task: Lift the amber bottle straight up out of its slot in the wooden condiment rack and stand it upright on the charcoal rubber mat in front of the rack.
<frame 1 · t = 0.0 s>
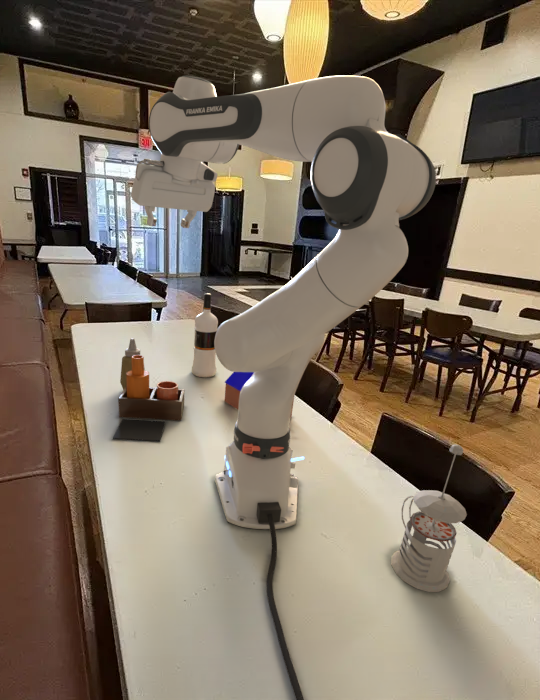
hand: (168, 226, 99), 52 cm above the table, tool tilted 20°, fingers open, 8 cm apart
squeeze bottle: (133, 392, 135), on the table
house: (256, 409, 130), on the table
french press: (416, 565, 74), on the table
bottle: (138, 411, 122), resting in wooden condiment rack
wooden condiment rack: (152, 412, 122), on the table
vodka: (203, 374, 156), on the table
rack cup: (167, 412, 122), resting in wooden condiment rack
mat: (140, 430, 111), on the table
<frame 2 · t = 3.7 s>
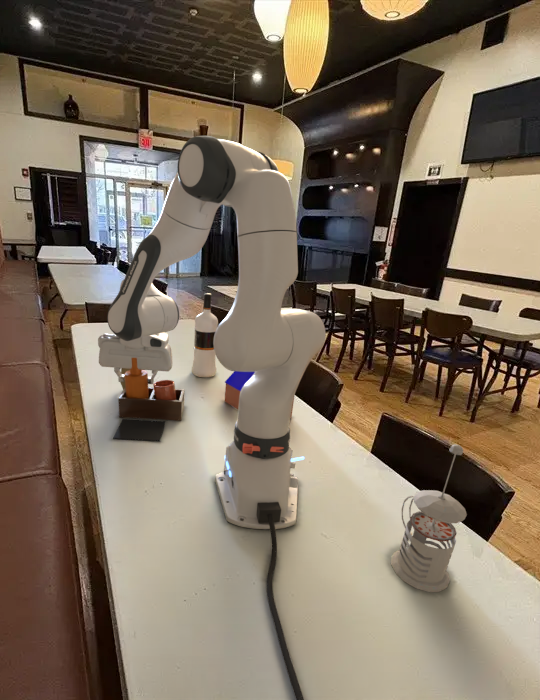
hand: (136, 382, 119), 9 cm above the table, tool pointing down, fingers open, 7 cm apart
rack cup: (167, 411, 122), resting in wooden condiment rack, tilted 7°, touching gripper
everything else where it was.
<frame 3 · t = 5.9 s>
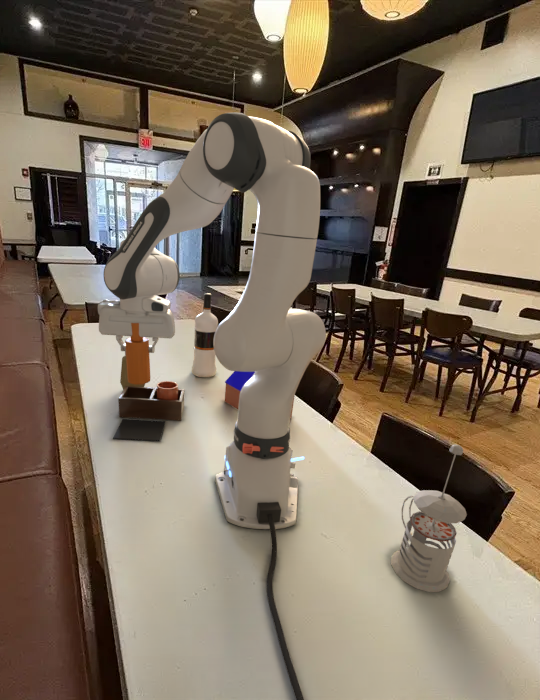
hand: (138, 351, 115), 19 cm above the table, tool pointing down, fingers closed on bottle, 6 cm apart
bottle: (139, 380, 118), point 10 cm above the table, touching gripper
rack cup: (167, 412, 122), resting in wooden condiment rack
everything else where it was.
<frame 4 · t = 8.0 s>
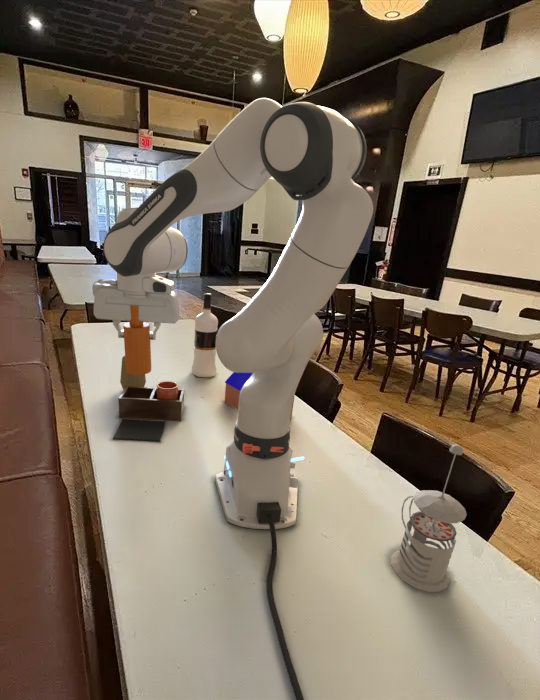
hand: (137, 338, 103), 25 cm above the table, tool pointing down, fingers closed on bottle, 6 cm apart
bottle: (138, 370, 106), point 17 cm above the table, touching gripper
everything else where it was.
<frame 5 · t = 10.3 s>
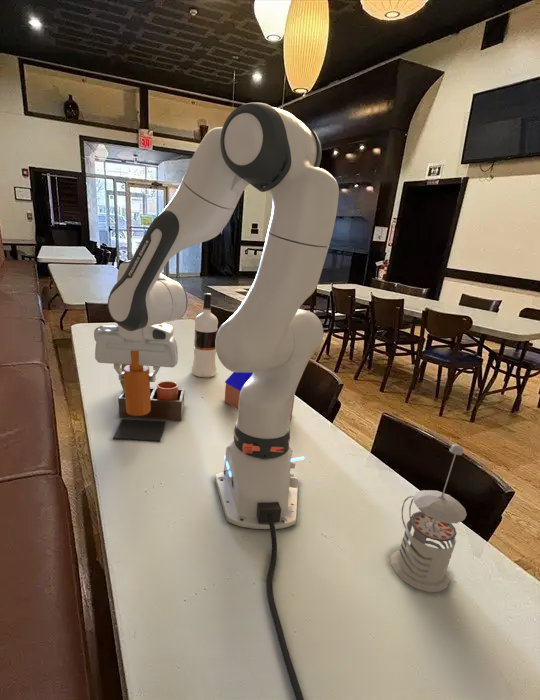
hand: (137, 380, 106), 14 cm above the table, tool pointing down, fingers closed on bottle, 6 cm apart
bottle: (138, 410, 109), point 6 cm above the table, touching gripper
everything else where it was.
when the fingers open (9 cm above the table, at t = 12.2 s): bottle stays where it is, resting on mat.
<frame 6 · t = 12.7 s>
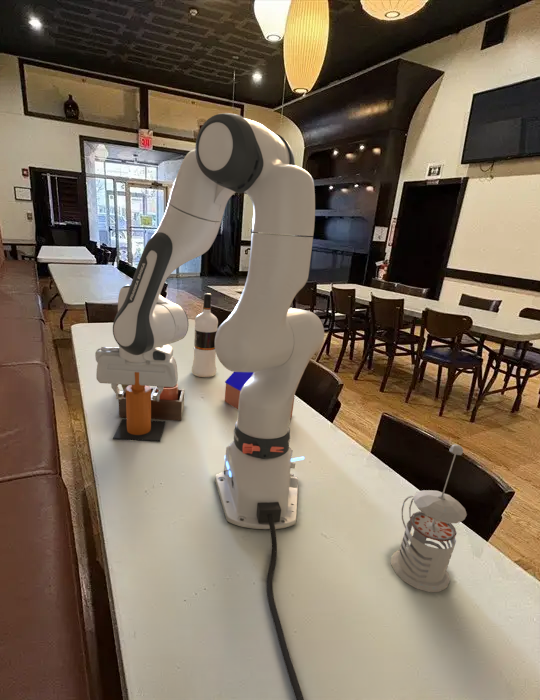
hand: (138, 399, 108), 9 cm above the table, tool pointing down, fingers open, 8 cm apart
bottle: (139, 429, 111), resting on mat
everything else where it was.
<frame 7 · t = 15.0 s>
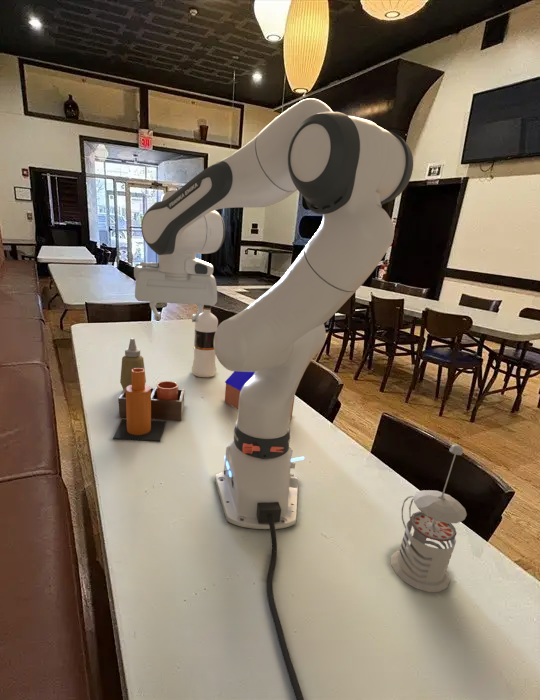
hand: (176, 320, 105), 30 cm above the table, tool pointing down, fingers open, 8 cm apart
nothing on the table moved.
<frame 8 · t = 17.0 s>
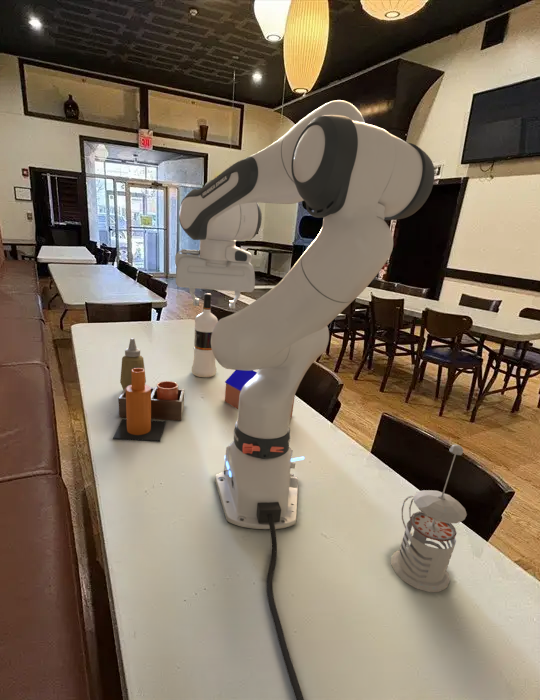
hand: (214, 306, 108), 33 cm above the table, tool pointing down, fingers open, 8 cm apart
nothing on the table moved.
at the end: bottle inside the target area (0.4 cm from its centre), resting on mat; bottle tilted 0°; the gripper is holding nothing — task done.
